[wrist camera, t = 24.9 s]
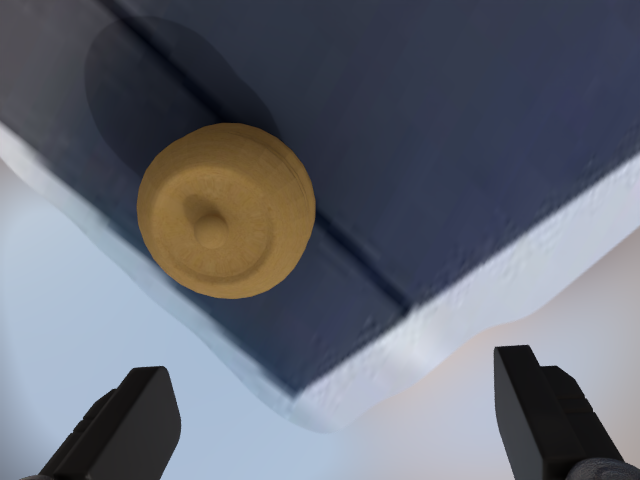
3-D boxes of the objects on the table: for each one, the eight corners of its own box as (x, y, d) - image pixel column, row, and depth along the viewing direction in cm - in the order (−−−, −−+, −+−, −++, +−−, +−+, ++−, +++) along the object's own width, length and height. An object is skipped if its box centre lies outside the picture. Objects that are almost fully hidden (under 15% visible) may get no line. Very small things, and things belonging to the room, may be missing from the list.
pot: (270, 288, 43) (241, 353, 34) (148, 210, 42) (83, 256, 33) (350, 174, 39) (342, 213, 30) (218, 84, 38) (167, 95, 29)
